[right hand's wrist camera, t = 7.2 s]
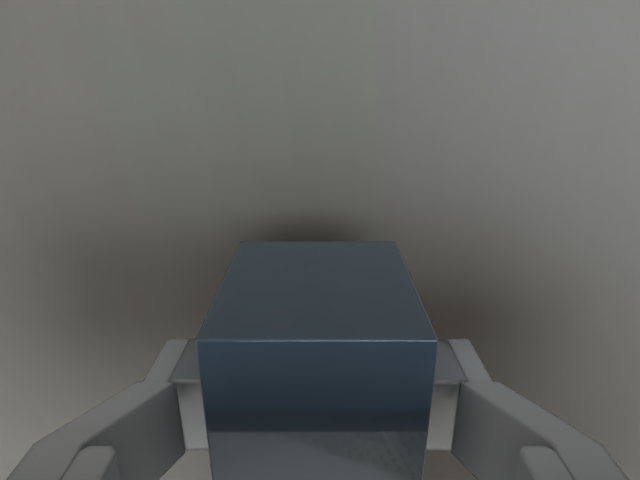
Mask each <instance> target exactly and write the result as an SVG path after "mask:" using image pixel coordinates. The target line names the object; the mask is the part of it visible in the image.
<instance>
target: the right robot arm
mask: <svg viewBox="0 0 640 480" xmlns="http://www.w3.org/2000/svg"><path fill="white" fill-rule="evenodd" d="M195 340H196V339H169V340H167V341H166V343H165V344H164V346H163V348H162V350H161V351H160V353H159V355H158V357H157V358H156V360H155V362H154V364H153V365H152V367H151V369H150V371H149V372H148V374H147V376H146V378H145V379H144V381H143V382H136V383H134V384H132V385H131V386H129V387H127V388H126V389H124V390H122V391H121V392H119V393H117V394H116V395H114V396H112V397H111V398H109V399H107V400H106V401H104V402H102V403H101V404H99V405H97V406H96V407H94V408H92V409H91V410H89V411H88V412H86V413H84V414H83V415H81V416H79V417H78V418H76V419H74V420H73V421H71V422H69V423H68V424H66V425H64V426H63V427H61V428H59V429H58V430H56V431H54V432H53V433H51V434H49V435H48V436H46V437H44V438H43V439H41V440H39V441H38V442H36V443H34V444H33V445H32V447H31V448H30V449H29V451H28V452H27V453H26V454H25V456H24V457H23V458H22V460H21V461H20V462H19V464H18V465H17V466H16V467H15V469H14V470H13V471H12V473H11V474H10V475H9V477H8V478H7V479H6V480H159V479H160V478H161V477H162V476H163V475H164V474H165V473H166V472H167V471H168V470H169V469H170V468H171V467H172V466H173V465H174V464H175V463H176V462H177V461H178V459H179V458H180V457H181V456H182V455H183V454H184V453H185V451H191V450H208V441H207V433H206V425H205V416H204V408H203V400H202V391H201V383H200V375H199V366H198V358H197V349H196V341H195ZM426 450H445V451H451V453H452V454H453V455H454V456H455V457H456V458H457V459H458V460H459V461H460V462H461V463H462V464H463V465H464V466H465V467H466V468H467V469H468V470H469V471H470V472H471V473H472V474H473V475H474V476H475V478H476V479H477V480H628V478H627V477H626V476H625V474H624V473H623V472H622V470H621V469H620V468H619V466H618V465H617V464H616V462H615V461H614V460H613V458H612V457H611V455H610V454H609V453H608V451H607V450H606V449H605V447H604V446H603V445H602V444H601V443H599V442H597V441H596V440H594V439H592V438H591V437H589V436H587V435H586V434H584V433H582V432H581V431H579V430H578V429H576V428H574V427H573V426H571V425H569V424H568V423H566V422H564V421H563V420H561V419H559V418H558V417H556V416H555V415H553V414H551V413H550V412H548V411H546V410H545V409H543V408H541V407H540V406H538V405H536V404H535V403H533V402H532V401H530V400H528V399H527V398H525V397H523V396H522V395H520V394H518V393H517V392H515V391H513V390H512V389H510V388H509V387H507V386H505V385H504V384H502V383H500V382H493V381H492V379H491V377H490V376H489V374H488V372H487V370H486V369H485V367H484V365H483V363H482V362H481V360H480V358H479V356H478V354H477V353H476V351H475V349H474V347H473V346H472V344H471V342H470V340H468V339H446V340H439V342H438V351H437V359H436V368H435V377H434V386H433V395H432V404H431V412H430V421H429V430H428V439H427V448H426Z"/></svg>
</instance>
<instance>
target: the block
mask: <svg viewBox="0 0 640 480" xmlns="http://www.w3.org/2000/svg"><path fill="white" fill-rule="evenodd" d="M195 341H196V349H197V358H198V366H199V375H200V383H201V391H202V400H203V408H204V416H205V425H206V433H207V441H208V450H209V458H210V467H211V475H212V480H423V474H424V465H425V456H426V448H427V439H428V430H429V421H430V412H431V404H432V395H433V386H434V377H435V368H436V359H437V351H438V342H439V340H438V337H437V335H436V333H435V330H434V328H433V326H432V324H431V321H430V319H429V317H428V314H427V312H426V310H425V308H424V305H423V303H422V301H421V299H420V296H419V294H418V292H417V289H416V287H415V285H414V283H413V280H412V278H411V276H410V273H409V271H408V269H407V267H406V264H405V262H404V260H403V257H402V255H401V253H400V251H399V248H398V246H397V244H396V242H395V241H242V242H240V243H239V246H238V248H237V250H236V252H235V254H234V257H233V259H232V261H231V263H230V265H229V268H228V270H227V272H226V274H225V276H224V279H223V281H222V283H221V285H220V287H219V289H218V292H217V294H216V296H215V298H214V300H213V303H212V305H211V307H210V309H209V311H208V314H207V316H206V318H205V320H204V322H203V325H202V327H201V329H200V331H199V333H198V336H197V338H196V340H195Z"/></svg>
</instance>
